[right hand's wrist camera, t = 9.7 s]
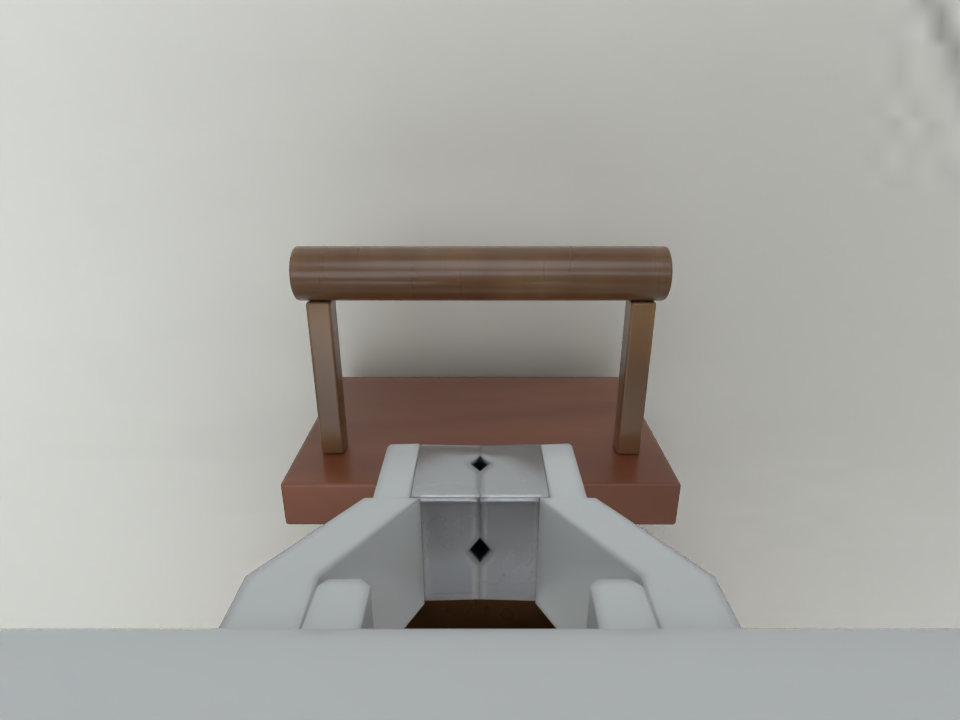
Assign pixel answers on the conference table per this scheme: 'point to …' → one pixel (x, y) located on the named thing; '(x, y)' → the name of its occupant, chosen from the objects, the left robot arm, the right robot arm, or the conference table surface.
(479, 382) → the drawer
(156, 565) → the conference table surface
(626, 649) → the right robot arm
